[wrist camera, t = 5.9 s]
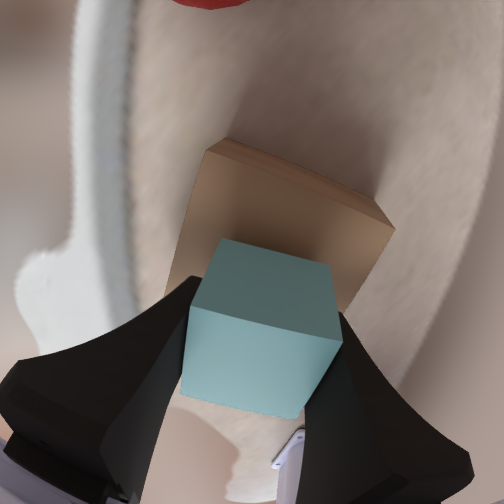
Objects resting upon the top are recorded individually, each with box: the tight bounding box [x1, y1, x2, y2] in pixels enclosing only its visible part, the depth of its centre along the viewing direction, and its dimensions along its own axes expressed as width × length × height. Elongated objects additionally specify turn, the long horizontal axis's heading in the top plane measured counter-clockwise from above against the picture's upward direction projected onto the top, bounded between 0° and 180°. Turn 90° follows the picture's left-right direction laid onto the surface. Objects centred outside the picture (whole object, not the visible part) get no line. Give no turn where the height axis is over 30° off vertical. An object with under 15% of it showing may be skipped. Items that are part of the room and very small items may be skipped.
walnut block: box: [164, 138, 395, 314], centre depth 15 cm, size 8×8×4 cm
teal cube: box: [180, 238, 343, 420], centre depth 10 cm, size 4×4×4 cm
